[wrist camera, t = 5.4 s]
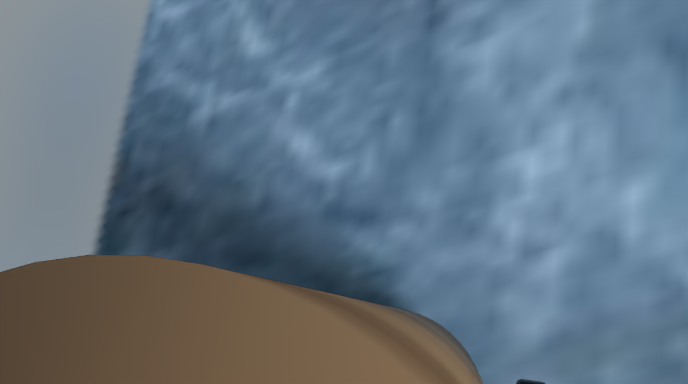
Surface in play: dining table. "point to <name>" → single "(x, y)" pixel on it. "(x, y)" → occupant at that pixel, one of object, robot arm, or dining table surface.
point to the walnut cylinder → (206, 329)
